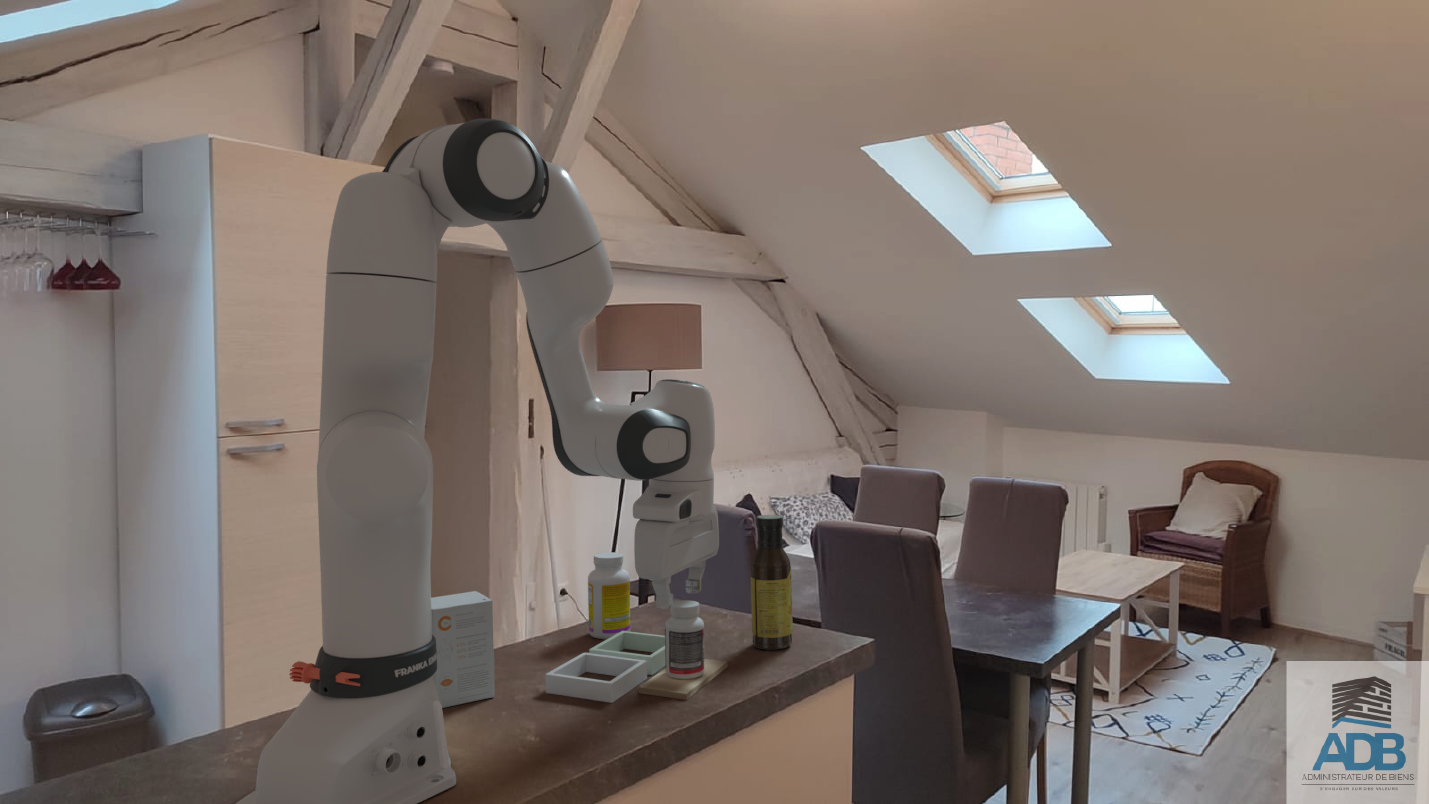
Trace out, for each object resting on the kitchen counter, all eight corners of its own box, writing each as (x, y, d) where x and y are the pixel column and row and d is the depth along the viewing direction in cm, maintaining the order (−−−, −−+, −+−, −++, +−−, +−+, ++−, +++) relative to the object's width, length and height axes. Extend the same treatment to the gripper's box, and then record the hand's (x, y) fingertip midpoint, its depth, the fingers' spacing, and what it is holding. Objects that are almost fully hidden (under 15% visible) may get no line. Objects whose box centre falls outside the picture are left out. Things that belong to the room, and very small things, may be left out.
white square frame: (612, 702, 124) (611, 683, 124) (545, 692, 128) (545, 674, 128) (647, 678, 134) (647, 660, 133) (584, 669, 137) (583, 652, 137)
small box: (479, 684, 132) (477, 589, 131) (495, 698, 127) (493, 599, 126) (419, 696, 127) (417, 598, 127) (434, 711, 122) (431, 609, 121)
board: (686, 699, 125) (686, 693, 125) (638, 692, 128) (638, 687, 128) (727, 667, 138) (727, 661, 138) (682, 661, 141) (682, 656, 141)
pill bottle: (712, 675, 132) (711, 604, 132) (679, 683, 129) (678, 610, 129) (690, 665, 137) (690, 596, 136) (658, 672, 134) (657, 602, 133)
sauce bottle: (800, 646, 147) (800, 517, 146) (768, 654, 144) (768, 521, 143) (774, 636, 153) (773, 511, 152) (742, 644, 149) (742, 515, 148)
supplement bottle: (639, 632, 156) (638, 553, 155) (613, 643, 150) (612, 561, 149) (606, 626, 159) (605, 549, 158) (580, 636, 154) (578, 556, 153)
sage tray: (652, 675, 135) (651, 657, 135) (589, 666, 139) (589, 649, 139) (682, 654, 144) (681, 637, 144) (622, 646, 148) (622, 630, 148)
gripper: (690, 489, 142) (689, 582, 143) (626, 507, 124) (624, 614, 124) (730, 491, 140) (728, 586, 141) (671, 510, 121) (669, 620, 122)
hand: (679, 599), depth 132 cm, fingers open, 8 cm apart
